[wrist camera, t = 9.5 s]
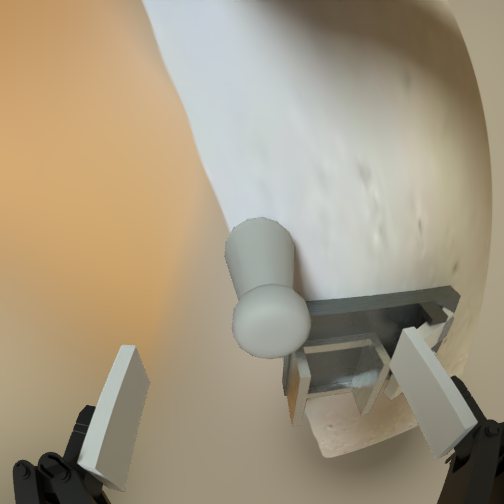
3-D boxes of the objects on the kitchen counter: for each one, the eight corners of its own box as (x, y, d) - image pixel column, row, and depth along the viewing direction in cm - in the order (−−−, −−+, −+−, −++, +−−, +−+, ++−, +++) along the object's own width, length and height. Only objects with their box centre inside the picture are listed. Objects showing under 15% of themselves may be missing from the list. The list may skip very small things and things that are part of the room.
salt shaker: (216, 223, 25) (196, 313, 13) (277, 200, 24) (313, 273, 12) (240, 276, 27) (242, 384, 15) (296, 256, 26) (336, 355, 15)
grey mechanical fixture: (287, 302, 29) (300, 353, 22) (450, 285, 29) (482, 318, 22) (282, 381, 34) (289, 427, 27) (421, 357, 35) (442, 392, 28)
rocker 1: (391, 374, 27) (402, 384, 25) (429, 347, 30) (438, 354, 28) (383, 392, 29) (392, 402, 27) (420, 365, 31) (429, 373, 30)
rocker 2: (410, 334, 24) (423, 343, 23) (444, 307, 27) (455, 314, 26) (400, 358, 26) (412, 368, 24) (435, 330, 29) (445, 337, 27)
